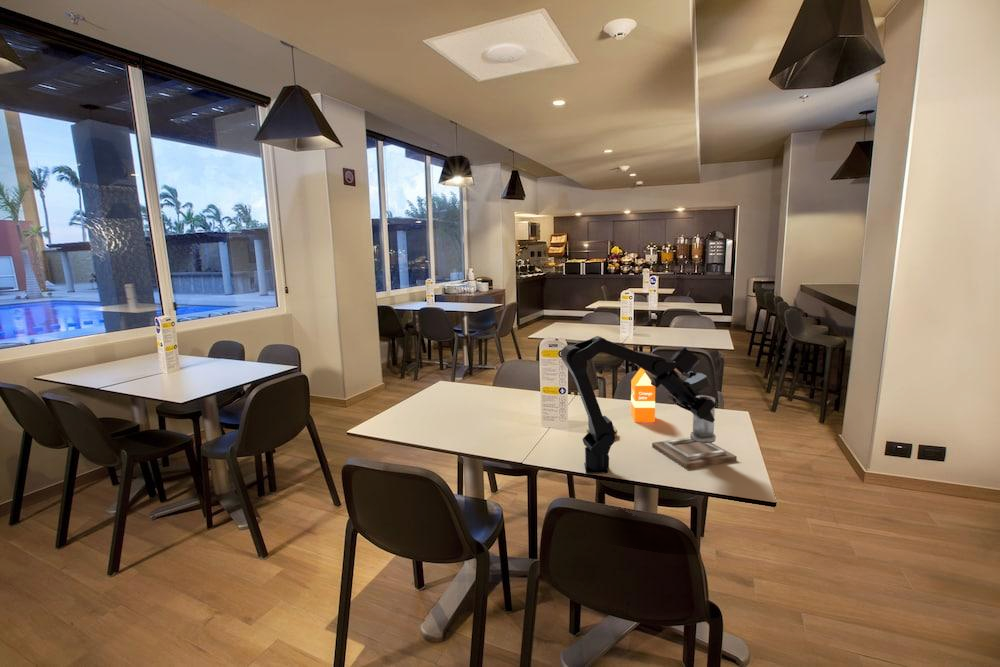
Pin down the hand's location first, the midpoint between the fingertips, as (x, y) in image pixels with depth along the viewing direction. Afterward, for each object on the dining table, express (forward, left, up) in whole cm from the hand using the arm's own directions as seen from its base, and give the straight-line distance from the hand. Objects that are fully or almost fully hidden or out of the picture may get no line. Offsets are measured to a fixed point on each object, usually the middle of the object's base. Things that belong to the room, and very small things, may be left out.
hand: (707, 417), depth 147 cm
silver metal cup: (-1, 0, -7) cm, 7 cm away
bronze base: (-3, +4, -13) cm, 14 cm away
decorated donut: (-30, +20, -14) cm, 39 cm away
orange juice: (-12, +38, -14) cm, 42 cm away
